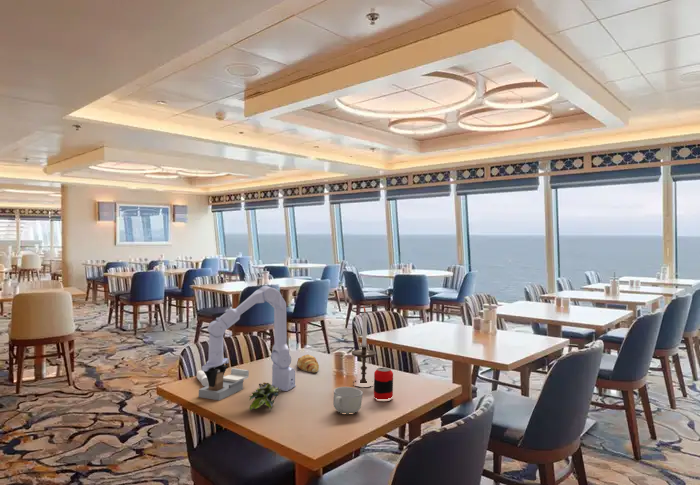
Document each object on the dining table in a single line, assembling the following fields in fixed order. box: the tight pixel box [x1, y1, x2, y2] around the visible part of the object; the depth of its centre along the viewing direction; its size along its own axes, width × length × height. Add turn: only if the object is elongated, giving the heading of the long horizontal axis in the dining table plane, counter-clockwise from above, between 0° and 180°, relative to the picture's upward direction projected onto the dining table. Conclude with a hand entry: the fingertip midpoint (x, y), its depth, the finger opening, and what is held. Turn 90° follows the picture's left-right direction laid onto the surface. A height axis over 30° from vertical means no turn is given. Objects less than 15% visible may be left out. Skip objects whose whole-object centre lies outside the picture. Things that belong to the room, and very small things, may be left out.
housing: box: [198, 375, 245, 401], centre depth 199 cm, size 11×16×4 cm, turn 158°
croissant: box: [296, 354, 320, 374], centre depth 240 cm, size 21×10×8 cm, turn 29°
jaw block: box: [209, 369, 223, 391], centre depth 195 cm, size 4×4×8 cm
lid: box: [223, 367, 250, 382], centre depth 208 cm, size 8×8×3 cm
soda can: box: [373, 367, 394, 399], centre depth 195 cm, size 8×8×12 cm
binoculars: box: [196, 369, 226, 387], centre depth 216 cm, size 10×16×5 cm, turn 29°
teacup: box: [332, 386, 363, 414], centre depth 179 cm, size 14×11×8 cm
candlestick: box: [351, 306, 377, 383], centre depth 214 cm, size 11×11×35 cm
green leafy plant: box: [248, 382, 282, 412], centre depth 182 cm, size 11×11×12 cm
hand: (215, 384), depth 196 cm, fingers closed on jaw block, 4 cm apart
